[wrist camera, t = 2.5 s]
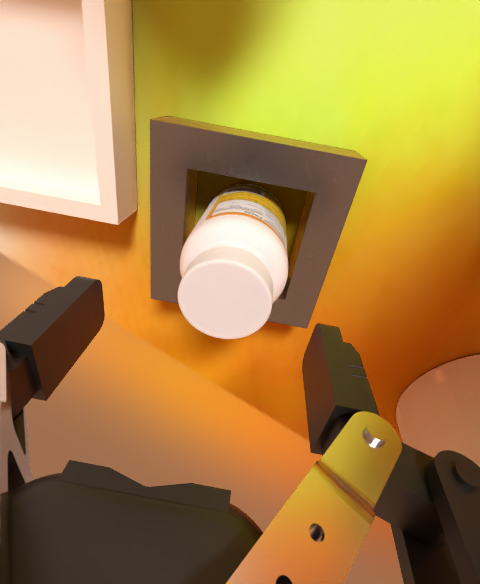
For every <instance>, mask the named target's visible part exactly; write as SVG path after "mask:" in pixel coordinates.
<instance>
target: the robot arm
mask: <svg viewBox="0 0 480 584" xmlns="http://www.w3.org/2000/svg"><path fill="white" fill-rule="evenodd" d="M104 315H105V314H104V302H103V291H102V283H101V281H100V280H96V279H91V278H86V277H81V276H76V277H75V278H74V279H73V280H71V281H70V282H69V283H68V284H67V285H66V286H65V287H57V288H55V289H53V290H51V291H48V292H46V293H44V294H43V295H42V296H41V297H40V298H38V299H37V300H36V301H35V302H34V304H31V305H30V306H29V307H28V308H27V309H26V310H25V312H24V311H23V312H22V313H21V314H20V315H18V316H17V317H16V318H15V319H14V320H13V321H11V322H10V323H9V324H8V325H7V326H5V327H4V328H3V329H2V330H1V331H0V584H344V582H345V580H346V578H347V576H348V573H349V571H350V569H351V567H352V565H353V563H354V561H355V558H356V556H357V554H358V552H359V550H360V548H361V546H362V544H363V541H364V539H365V537H366V535H367V533H368V531H369V529H370V526H371V524H372V522H373V520H374V517H375V515H376V516H378V517H380V518H381V519H383V520H385V521H387V522H389V523H390V524H391V527H392V532H393V537H394V541H395V545H396V550H397V554H398V559H399V563H400V568H401V573H402V577H403V582H404V584H480V467H479V466H478V465H477V464H476V463H474V462H473V461H472V460H470V459H469V458H468V457H466V456H464V455H462V454H460V453H458V452H455V451H451V450H443V451H440V452H439V453H438V454H437V455H436V456H435V457H434V458H433V457H431V456H429V455H427V454H425V453H423V452H421V451H419V450H417V449H415V448H413V447H411V446H408V445H407V444H405V443H403V442H402V441H401V440H400V437H399V435H398V433H397V432H396V430H395V429H394V428H393V426H392V425H391V424H390V423H389V422H388V421H386V420H385V419H384V418H382V417H380V415H379V412H378V409H377V406H376V403H375V400H374V397H373V394H372V391H371V388H370V385H369V382H368V379H366V377H367V376H366V373H365V370H364V369H363V364H362V361H361V358H360V355H359V353H358V352H357V351H356V350H355V348H354V347H353V346H352V345H351V344H350V343H345V342H343V340H342V336H341V333H340V329H339V328H338V327H335V326H330V325H324V324H319V323H318V324H316V326H315V328H314V331H313V333H312V336H311V339H310V341H309V344H308V346H307V349H306V351H305V354H304V358H303V366H302V370H303V380H304V390H305V400H306V410H307V420H308V430H309V440H310V449H311V453H316V454H321V455H322V458H321V459H320V460H319V462H318V461H317V462H316V463H315V464H314V466H313V467H312V468H311V470H310V471H309V472H308V474H307V475H306V477H305V478H304V479H303V480H302V482H301V483H300V484H299V486H298V487H297V489H296V490H295V491H294V492H293V494H292V495H291V497H290V498H289V499H288V501H287V502H286V503H285V505H284V506H283V507H282V509H281V510H280V511H279V513H278V514H277V515H276V517H275V518H274V519H273V521H272V522H271V523H270V525H269V526H268V527H267V529H266V530H265V532H264V533H263V532H262V531H261V529H260V528H259V527H258V526H257V525H256V523H255V522H254V521H253V520H252V519H251V518H250V517H249V516H247V514H246V513H244V512H243V511H241V510H240V509H239V508H237V507H236V506H234V505H232V504H230V494H231V491H230V490H225V489H219V488H214V487H209V486H203V485H199V484H193V483H188V484H177V485H166V486H156V487H146V486H143V485H141V484H139V483H137V482H136V481H134V480H132V479H130V478H128V477H126V476H124V475H122V474H120V473H118V472H117V471H115V470H113V469H111V468H109V467H104V466H98V465H93V464H88V463H82V462H77V461H72V460H69V462H68V463H67V465H66V467H65V469H64V470H63V472H62V473H57V474H53V475H48V476H44V477H41V478H38V479H35V480H33V476H32V472H31V467H30V457H29V443H28V429H27V416H26V408H25V405H26V404H27V403H28V402H29V401H30V399H31V398H34V399H40V400H45V401H46V400H47V399H48V398H49V396H50V395H51V394H52V392H53V391H54V390H55V388H56V387H57V386H58V385H59V383H60V382H61V381H62V379H63V378H64V377H65V375H66V374H67V373H68V371H69V370H70V369H71V367H72V366H73V365H74V363H75V362H76V361H77V360H78V358H79V357H80V356H81V354H82V353H83V352H84V350H85V349H86V348H87V346H88V345H89V343H90V342H91V341H92V340H93V338H94V337H95V336H96V334H97V333H98V332H99V330H100V328H101V327H102V324H103V321H104Z"/></svg>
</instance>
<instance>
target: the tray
mask: <svg viewBox="0 0 480 584" xmlns="http://www.w3.org/2000/svg"><path fill="white" fill-rule="evenodd" d="M0 202H1V203H6V204H11V205H17V206H22V207H27V208H32V209H37V210H43V211H48V212H53V213H58V214H64V215H69V216H74V217H79V218H85V219H90V220H95V221H100V222H105V223H111V224H116V225H119V224H120V223H121V222H123V221H124V220H125V219H126V218H128V217H129V216H130V215H131V214H133V213H134V212H135V211H136V210H137V173H136V137H135V100H134V63H133V27H132V0H0Z"/></svg>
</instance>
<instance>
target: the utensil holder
mask: <svg viewBox="0 0 480 584" xmlns="http://www.w3.org/2000/svg"><path fill="white" fill-rule="evenodd" d="M396 420H397V424H398V428H399V432H400V435H401V438H402V441H403V443H405V444H407V445H408V446H411V447H413V448H415V449H417V450H419V451H421V452H423V453H425V454H427V455H429V456H431V457H433V458H434V457H435V456H436V455H437V454H438V453H439V452H440V451H443V450H451V451H455V452H458V453H460V454H462V455H464V456H466V457H468V458H469V459H470V460H472V461H473V462H474V463H476V464H477V465H478V466H479V467H480V354H479V355H473V356H469V357H464V358H460V359H457V360H454V361H451V362H448V363H446V364H443V365H441V366H439V367H436V368H434V369H432V370H430V371H428V372H427V373H425V374H424V375H422V376H421V377H419V378H418V379H416V380H415V381H414V382H413V383H412V384H411V385H410V386H409V387H408V388H407V389H406V390H405V391H404V392H403V394H402V395H401V397H400V399H399V401H398V404H397V407H396Z"/></svg>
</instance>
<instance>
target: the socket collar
mask: <svg viewBox="0 0 480 584" xmlns="http://www.w3.org/2000/svg"><path fill="white" fill-rule="evenodd" d="M366 162H367V159H365V158H364V157H363V156H361V155H360V154H358V153H357V152H356V151H352V150H347V149H342V148H336V147H331V146H326V145H320V144H315V143H310V142H305V141H299V140H294V139H289V138H283V137H278V136H273V135H267V134H262V133H257V132H251V131H246V130H241V129H235V128H230V127H225V126H219V125H214V124H209V123H204V122H198V121H193V120H188V119H182V118H177V117H172V116H165V117H159V118H154V119H150V204H151V299H157V300H162V301H167V302H172V303H177V304H179V303H178V288H179V284H180V282H181V280H182V277H181V273H180V257H181V252H182V249H183V246H184V244H185V242H186V240H187V238H188V236H189V235H190V233H191V232H192V230H193V229H194V221H195V209H196V196H197V183H198V170H199V171H204V172H209V173H214V174H220V175H225V176H230V177H235V178H241V179H246V180H251V181H257V182H262V183H267V184H272V185H278V186H283V187H288V188H294V189H299V190H304V191H308V194H307V197H306V201H305V205H304V208H303V212H302V216H301V219H300V223H299V226H298V230H297V234H296V237H295V241H294V245H293V248H292V252H291V256H290V259H289V263H288V277H287V281H286V284H285V287H284V289H283V291H282V293H281V294H280V296H279V297H278V299H277V300H276V301H275V302H274V303H273V304H272V309H271V313H270V315H269V318H268V320H267V321H271V322H276V323H281V324H286V325H291V326H296V327H302V328H307V327H308V324H309V321H310V319H311V316H312V313H313V310H314V307H315V305H316V302H317V299H318V296H319V293H320V291H321V288H322V285H323V282H324V279H325V277H326V274H327V271H328V268H329V265H330V263H331V260H332V257H333V254H334V252H335V249H336V246H337V243H338V240H339V238H340V235H341V232H342V229H343V226H344V224H345V221H346V218H347V215H348V212H349V210H350V207H351V204H352V201H353V198H354V196H355V193H356V190H357V187H358V184H359V182H360V179H361V176H362V173H363V171H364V168H365V165H366Z"/></svg>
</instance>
